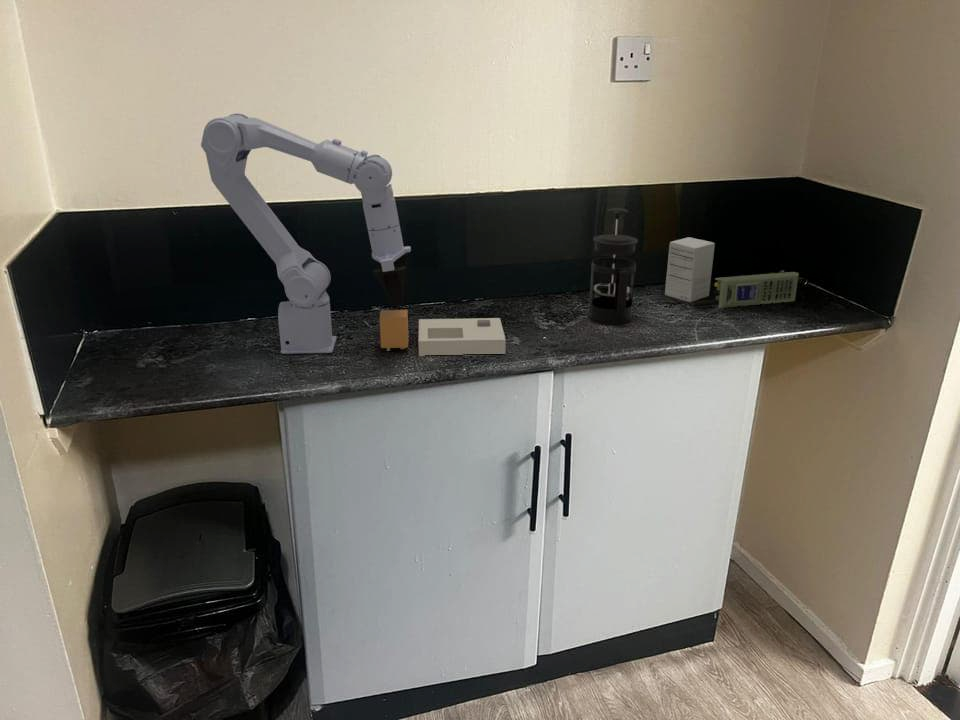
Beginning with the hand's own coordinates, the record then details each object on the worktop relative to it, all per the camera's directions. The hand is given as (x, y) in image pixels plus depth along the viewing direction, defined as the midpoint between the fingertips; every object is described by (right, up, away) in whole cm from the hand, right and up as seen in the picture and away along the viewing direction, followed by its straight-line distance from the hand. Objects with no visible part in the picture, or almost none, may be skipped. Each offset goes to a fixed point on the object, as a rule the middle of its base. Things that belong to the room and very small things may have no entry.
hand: (397, 299), depth 142 cm
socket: (+11, -8, +6) cm, 15 cm away
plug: (-1, -9, +4) cm, 10 cm away
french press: (+43, -3, +20) cm, 47 cm away
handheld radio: (+74, +1, +30) cm, 80 cm away
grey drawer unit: (+63, +3, +35) cm, 72 cm away
